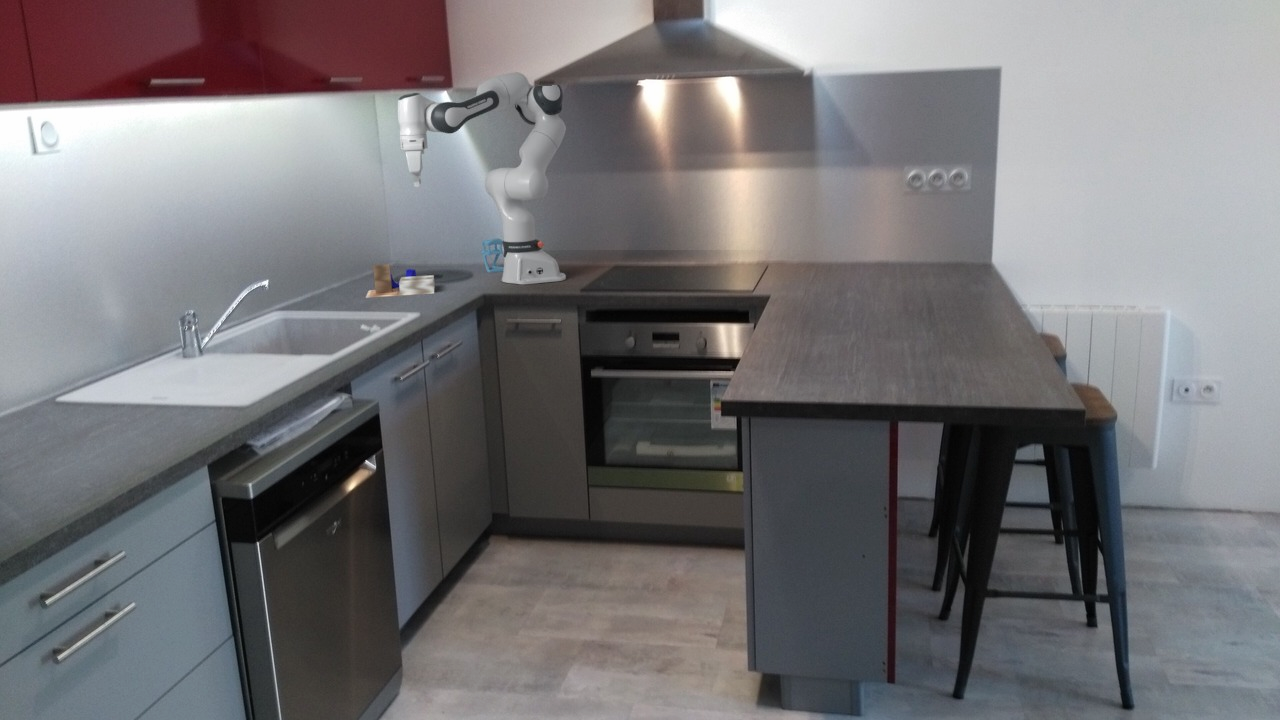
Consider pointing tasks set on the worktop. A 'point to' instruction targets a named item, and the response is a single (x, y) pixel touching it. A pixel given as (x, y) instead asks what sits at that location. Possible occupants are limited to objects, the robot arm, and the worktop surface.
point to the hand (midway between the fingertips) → (417, 185)
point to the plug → (382, 278)
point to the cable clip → (408, 274)
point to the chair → (491, 252)
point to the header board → (409, 287)
